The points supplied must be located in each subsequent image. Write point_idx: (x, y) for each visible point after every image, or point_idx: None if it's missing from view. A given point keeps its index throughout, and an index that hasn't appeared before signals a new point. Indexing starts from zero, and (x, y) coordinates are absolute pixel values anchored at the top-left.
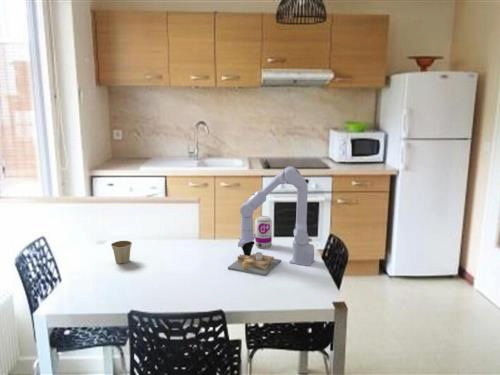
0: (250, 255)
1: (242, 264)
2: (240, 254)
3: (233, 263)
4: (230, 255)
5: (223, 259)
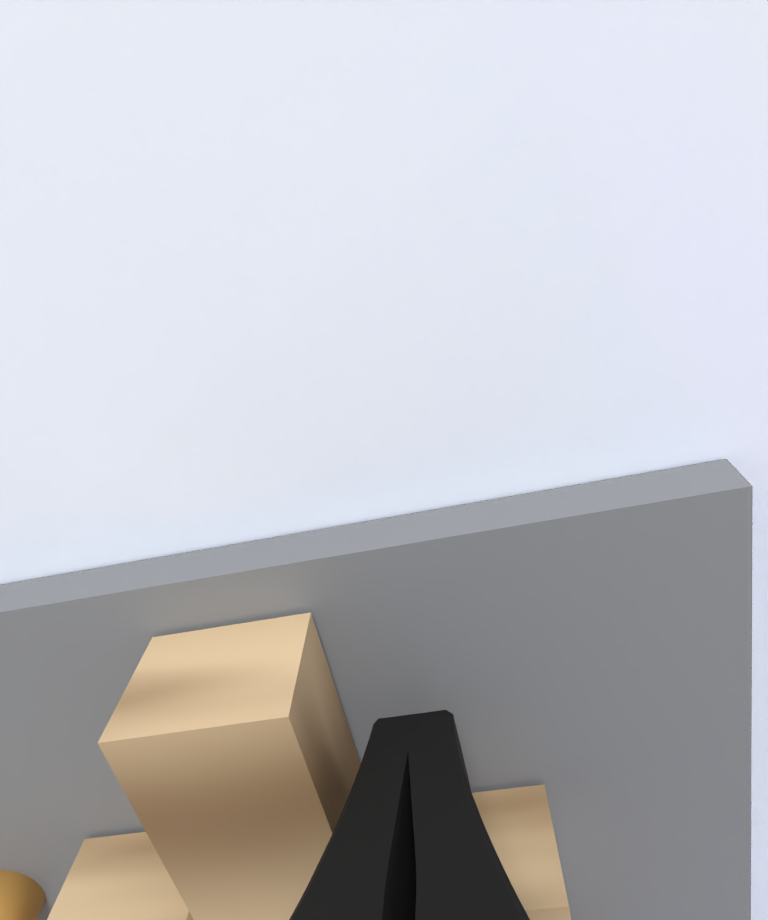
0: (697, 634)
1: None
2: (281, 716)
3: (3, 624)
4: (530, 18)
5: (103, 88)
